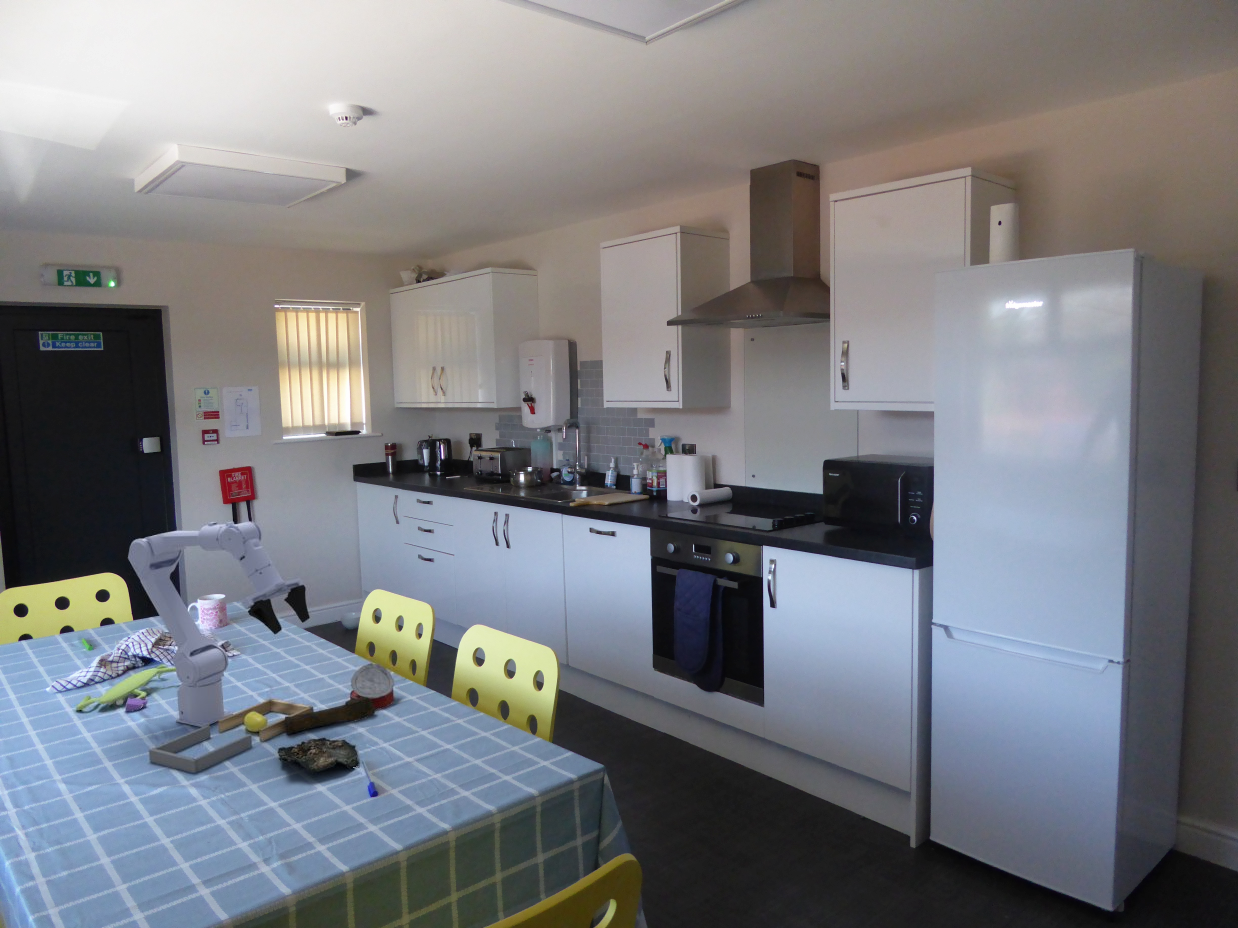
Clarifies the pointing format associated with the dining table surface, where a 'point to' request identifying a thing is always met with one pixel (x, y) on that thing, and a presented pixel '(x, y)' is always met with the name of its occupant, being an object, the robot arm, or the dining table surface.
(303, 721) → the hand tool
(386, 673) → the canned food
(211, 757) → the grey frame
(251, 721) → the lemon
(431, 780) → the dining table surface
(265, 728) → the oak frame
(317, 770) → the decorative rock
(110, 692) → the figurine
